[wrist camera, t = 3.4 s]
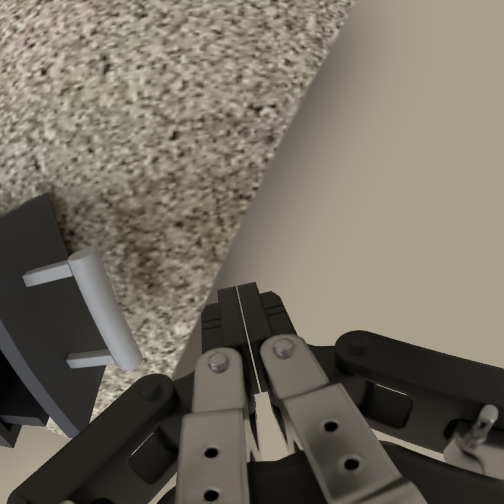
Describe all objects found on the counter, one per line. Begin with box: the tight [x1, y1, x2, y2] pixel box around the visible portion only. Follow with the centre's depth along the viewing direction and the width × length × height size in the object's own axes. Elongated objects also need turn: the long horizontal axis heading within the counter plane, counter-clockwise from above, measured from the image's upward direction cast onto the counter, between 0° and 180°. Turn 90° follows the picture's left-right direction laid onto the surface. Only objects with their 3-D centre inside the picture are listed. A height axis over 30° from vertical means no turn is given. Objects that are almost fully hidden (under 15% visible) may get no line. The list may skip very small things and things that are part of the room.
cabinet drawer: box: [0, 193, 143, 438], centre depth 13 cm, size 17×11×8 cm
